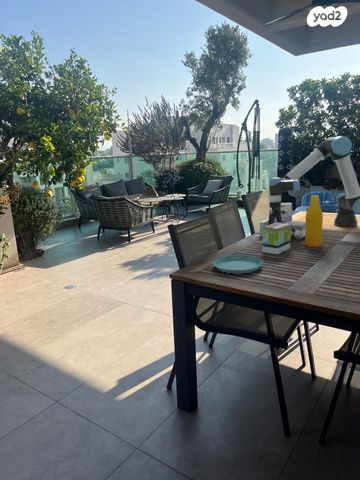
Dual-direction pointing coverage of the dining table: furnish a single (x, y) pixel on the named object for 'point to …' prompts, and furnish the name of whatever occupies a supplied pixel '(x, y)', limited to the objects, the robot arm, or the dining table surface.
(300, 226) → the stone slab
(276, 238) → the tea box
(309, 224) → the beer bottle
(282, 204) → the candy box
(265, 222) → the block
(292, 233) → the roller bed
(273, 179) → the robot arm
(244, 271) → the saucer
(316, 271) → the dining table surface
